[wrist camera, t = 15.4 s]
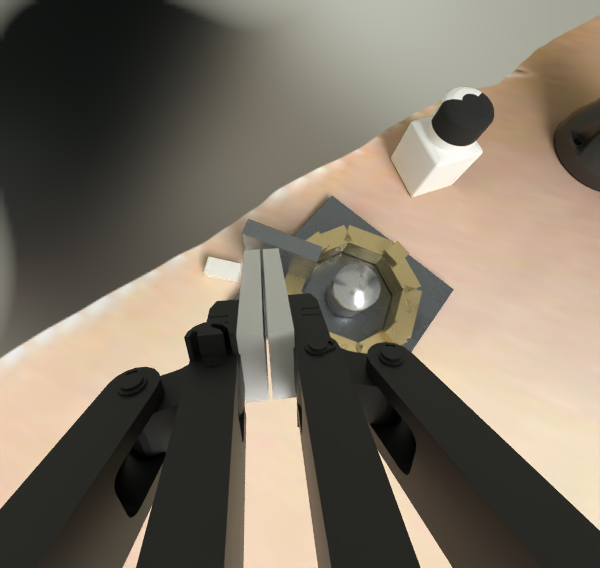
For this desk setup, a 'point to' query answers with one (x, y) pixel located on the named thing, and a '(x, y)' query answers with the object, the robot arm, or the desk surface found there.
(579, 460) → the desk surface
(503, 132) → the desk surface
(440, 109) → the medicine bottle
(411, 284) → the block with gold ring
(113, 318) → the desk surface
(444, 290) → the housing plate
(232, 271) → the small white rectangular block
